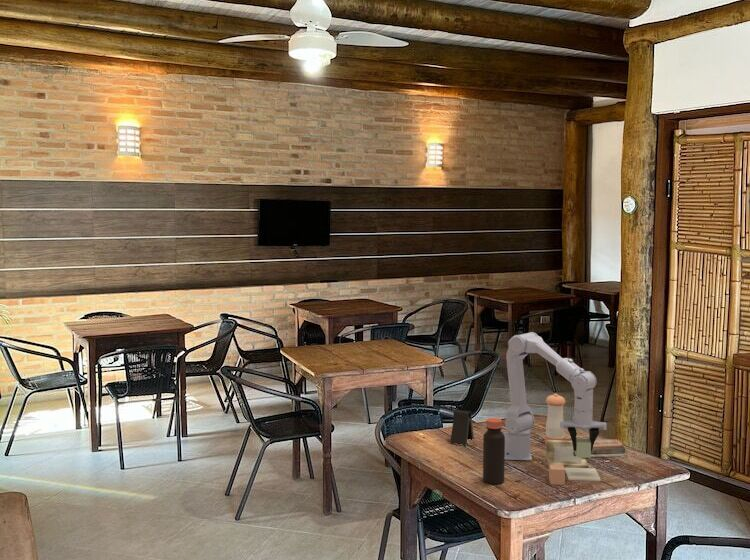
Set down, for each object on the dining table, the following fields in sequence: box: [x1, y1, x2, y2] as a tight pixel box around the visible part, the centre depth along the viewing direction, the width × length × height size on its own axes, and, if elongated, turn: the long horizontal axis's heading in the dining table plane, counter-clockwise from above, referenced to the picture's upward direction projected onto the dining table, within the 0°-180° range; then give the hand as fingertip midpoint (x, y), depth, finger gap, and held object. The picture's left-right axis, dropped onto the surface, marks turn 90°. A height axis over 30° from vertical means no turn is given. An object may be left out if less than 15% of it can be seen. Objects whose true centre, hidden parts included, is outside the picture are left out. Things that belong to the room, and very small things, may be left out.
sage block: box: [575, 437, 592, 459], centre depth 242 cm, size 4×4×5 cm
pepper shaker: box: [544, 393, 566, 446], centre depth 273 cm, size 7×7×19 cm
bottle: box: [482, 417, 506, 485], centre depth 237 cm, size 7×7×20 cm
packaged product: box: [591, 438, 628, 458], centre depth 264 cm, size 18×5×10 cm
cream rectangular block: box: [553, 444, 582, 463], centre depth 253 cm, size 9×5×5 cm, turn 83°
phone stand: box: [449, 408, 475, 446], centre depth 278 cm, size 9×6×12 cm, turn 151°
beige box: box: [545, 440, 589, 468], centre depth 253 cm, size 13×8×7 cm, turn 83°
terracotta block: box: [548, 465, 566, 486], centre depth 237 cm, size 4×4×5 cm
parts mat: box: [564, 467, 602, 482], centre depth 243 cm, size 10×10×1 cm
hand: (582, 450), depth 242 cm, fingers closed on sage block, 4 cm apart
